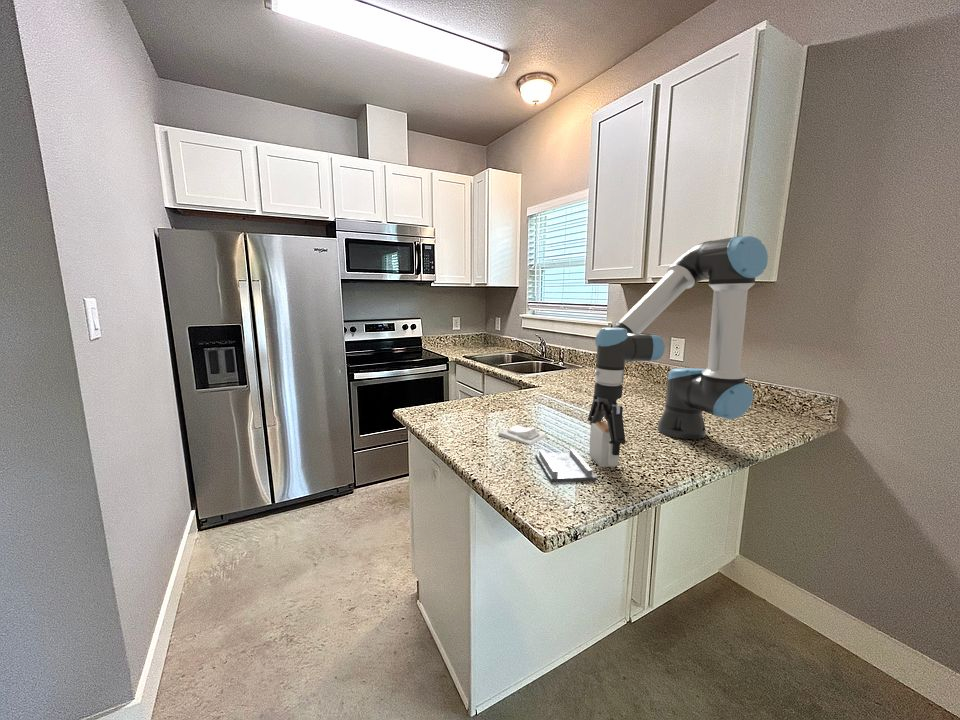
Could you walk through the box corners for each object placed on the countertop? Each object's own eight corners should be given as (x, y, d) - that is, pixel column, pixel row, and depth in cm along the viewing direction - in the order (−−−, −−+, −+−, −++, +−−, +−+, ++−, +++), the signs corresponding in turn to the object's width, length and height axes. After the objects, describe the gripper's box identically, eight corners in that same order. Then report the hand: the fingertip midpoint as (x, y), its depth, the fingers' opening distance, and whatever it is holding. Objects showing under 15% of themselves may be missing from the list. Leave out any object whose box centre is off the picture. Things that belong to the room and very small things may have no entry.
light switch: (531, 437, 122) (498, 425, 130) (530, 449, 123) (497, 437, 131) (548, 428, 130) (516, 417, 138) (547, 439, 131) (515, 428, 139)
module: (605, 454, 116) (607, 420, 115) (617, 466, 109) (620, 429, 107) (589, 455, 116) (591, 420, 114) (600, 466, 108) (603, 430, 106)
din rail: (574, 455, 115) (575, 447, 115) (596, 480, 100) (596, 471, 99) (535, 456, 114) (535, 448, 114) (551, 482, 98) (551, 473, 98)
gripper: (580, 374, 120) (575, 439, 123) (615, 394, 96) (608, 475, 99) (603, 374, 121) (598, 439, 124) (644, 394, 97) (636, 474, 100)
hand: (603, 455), depth 112 cm, fingers open, 12 cm apart
